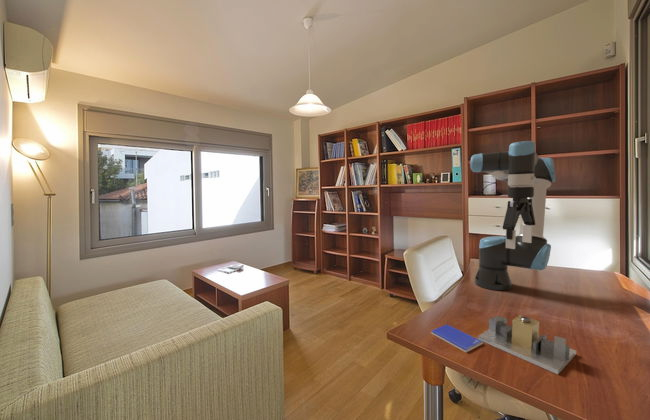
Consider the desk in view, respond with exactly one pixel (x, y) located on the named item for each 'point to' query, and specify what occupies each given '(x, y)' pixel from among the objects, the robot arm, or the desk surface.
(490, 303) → the desk surface
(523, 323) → the block
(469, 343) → the hard drive
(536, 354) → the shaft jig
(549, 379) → the desk surface
